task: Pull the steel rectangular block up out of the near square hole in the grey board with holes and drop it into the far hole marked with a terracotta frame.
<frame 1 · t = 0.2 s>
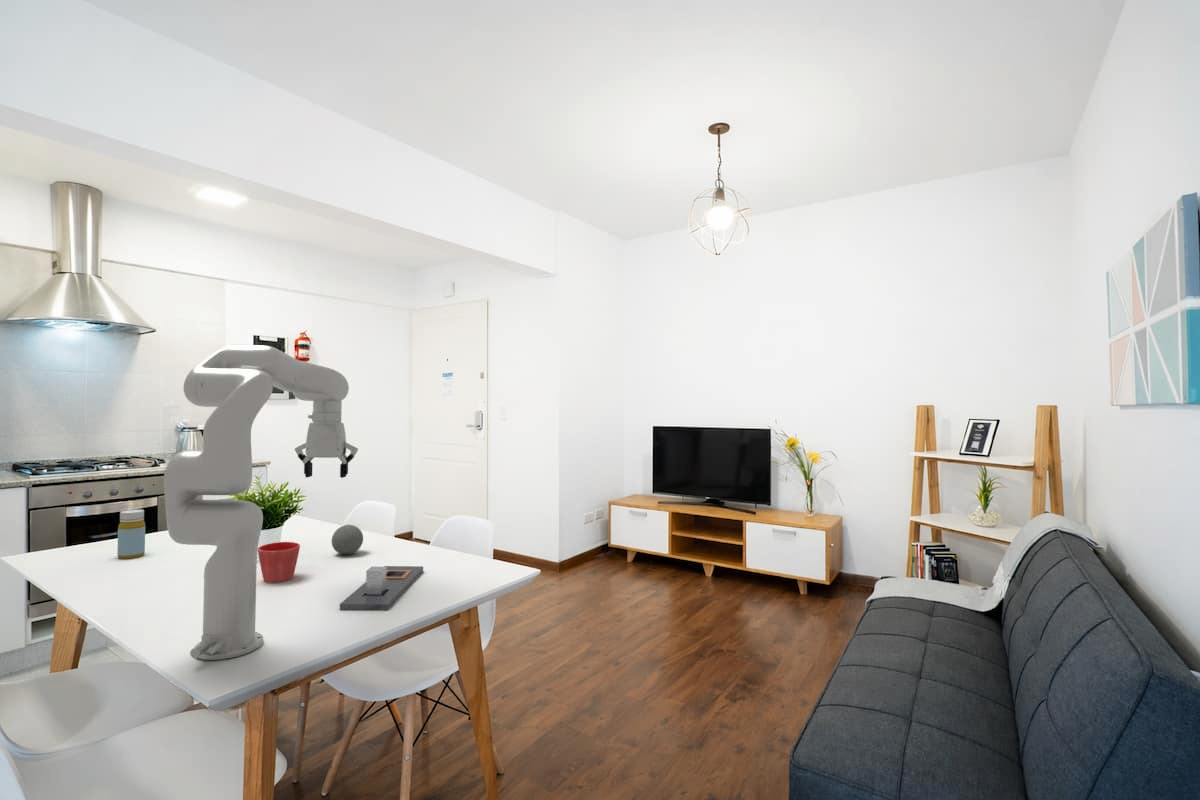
hand: (326, 476, 169), 31 cm above the table, tool pointing down, fingers open, 9 cm apart
decorative ball: (347, 554, 200), on the table
flower pot: (278, 579, 172), on the table
bottle: (131, 557, 192), on the table
grey board with holes: (385, 588, 165), on the table
steel rectangular block: (375, 598, 157), resting in grey board with holes
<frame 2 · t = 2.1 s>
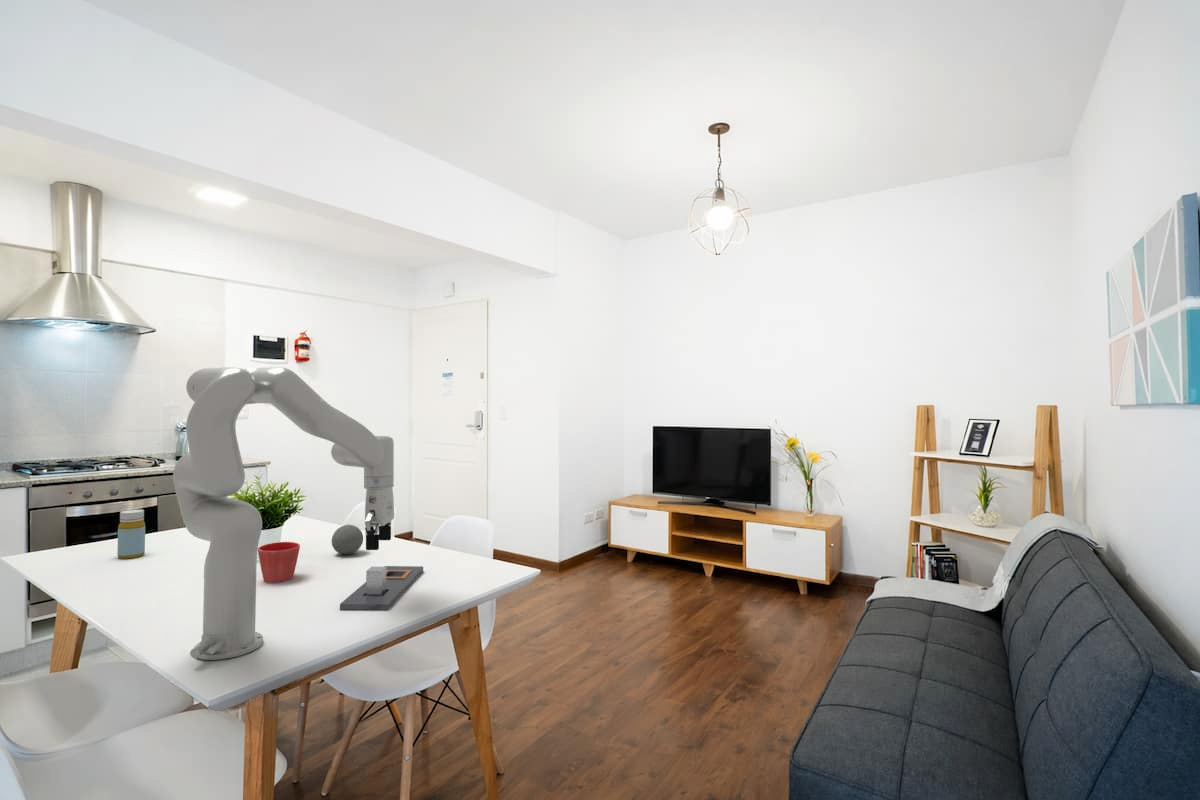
hand: (378, 544, 158), 14 cm above the table, tool pointing down, fingers open, 9 cm apart
nothing on the table moved.
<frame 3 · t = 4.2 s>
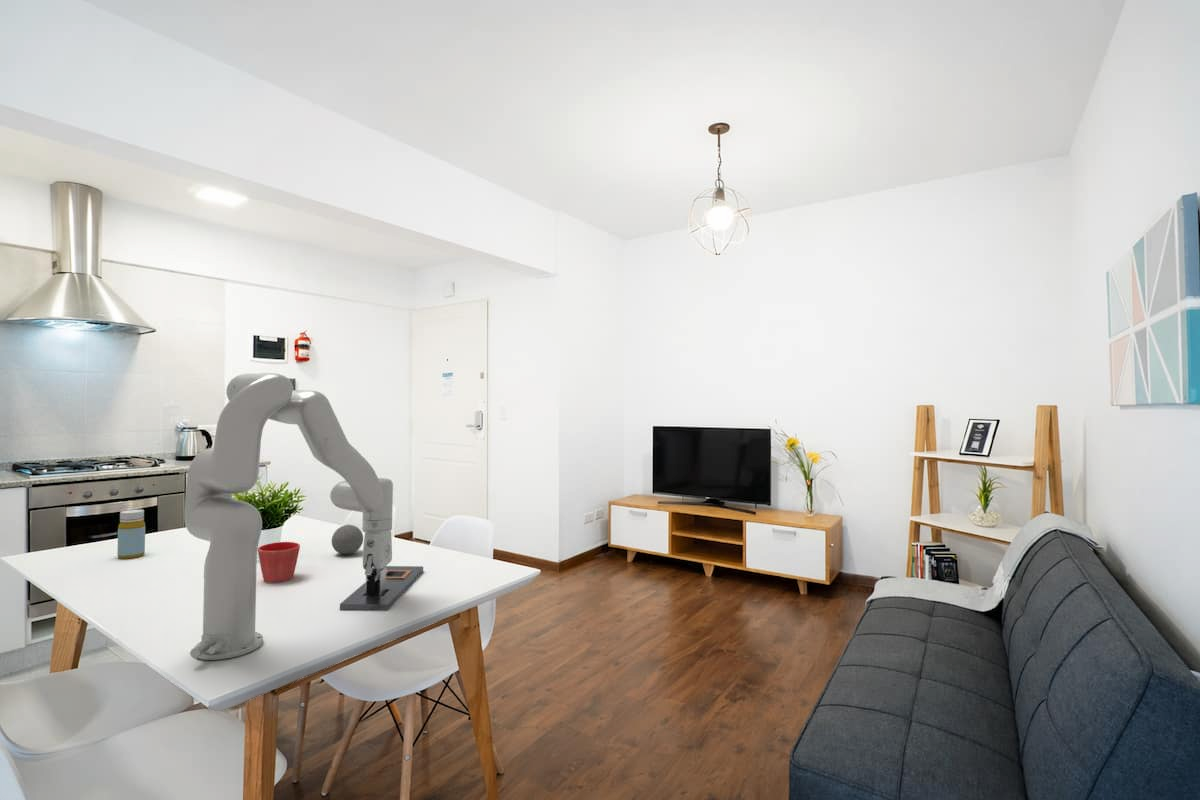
hand: (375, 591, 157), 2 cm above the table, tool pointing down, fingers closed on steel rectangular block, 4 cm apart
steel rectangular block: (375, 598, 157), resting in grey board with holes, touching gripper
everything else where it was.
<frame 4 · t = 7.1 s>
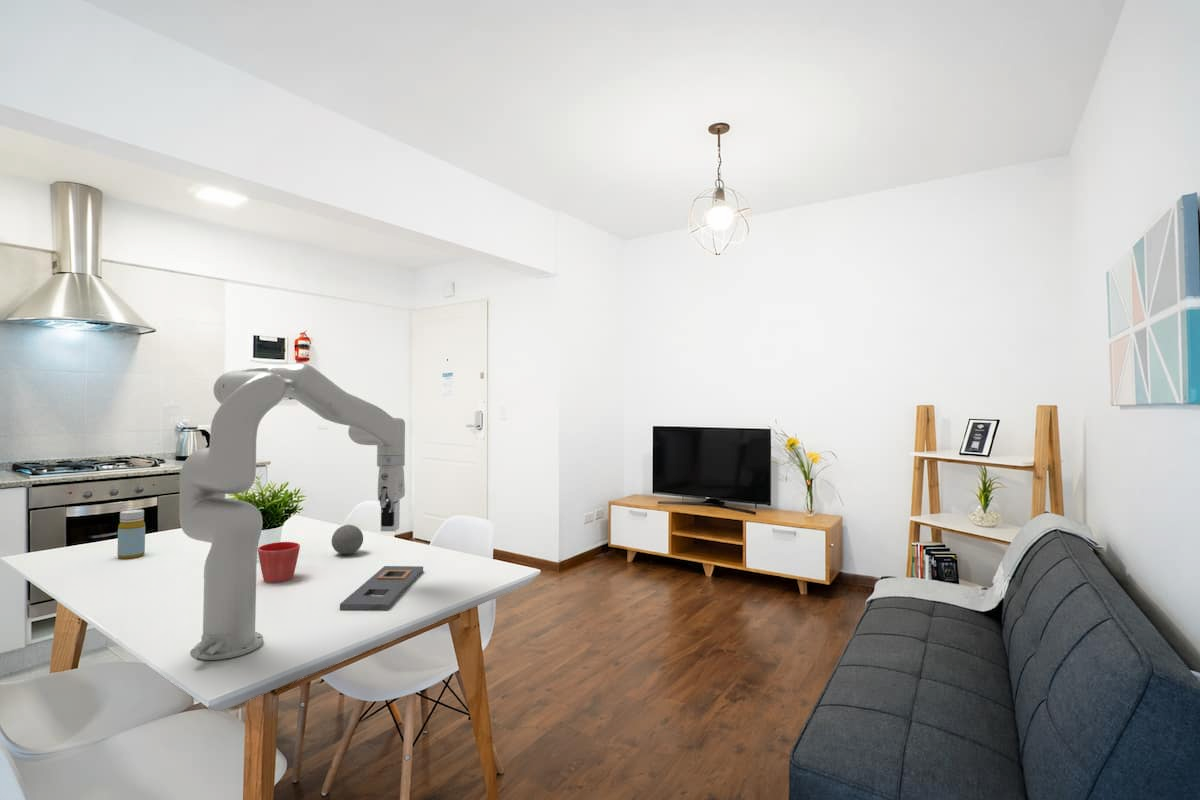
hand: (390, 523, 167), 18 cm above the table, tool pointing down, fingers closed on steel rectangular block, 4 cm apart
steel rectangular block: (390, 529, 167), point 16 cm above the table, touching gripper
everything else where it was.
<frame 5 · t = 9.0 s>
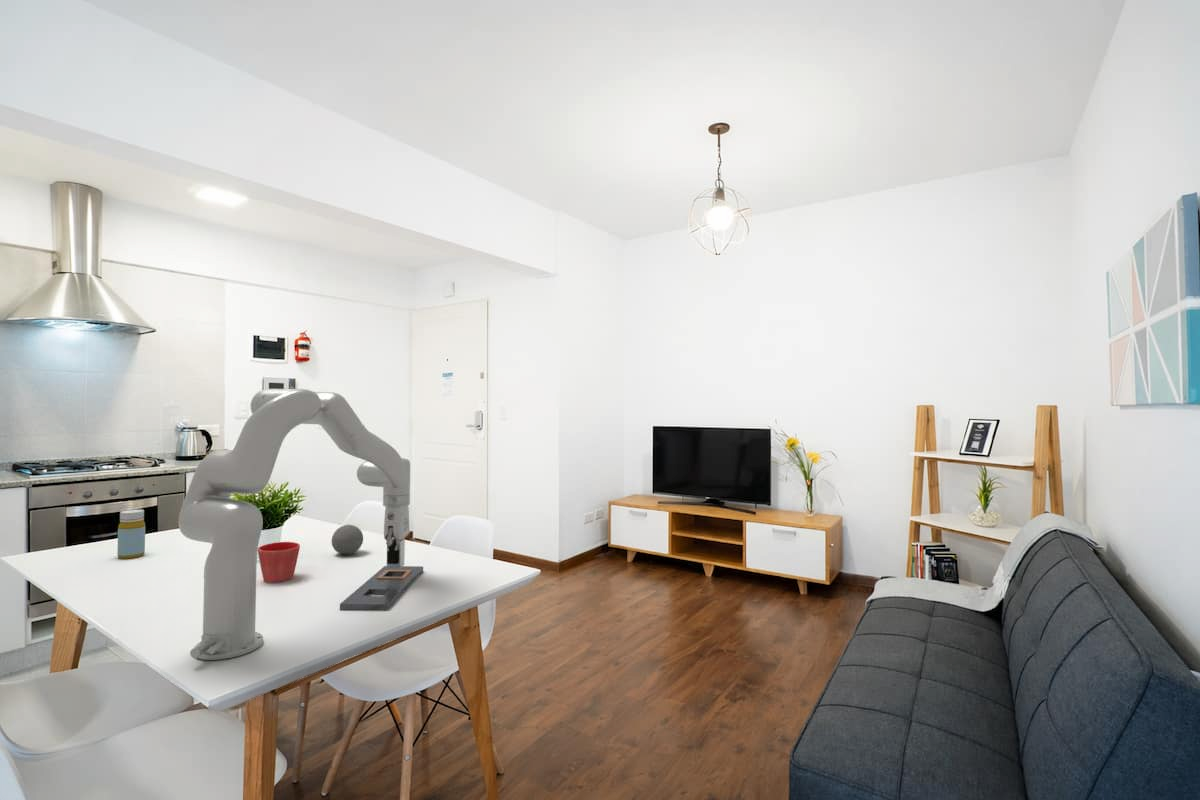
hand: (395, 560, 173), 6 cm above the table, tool pointing down, fingers closed on steel rectangular block, 4 cm apart
steel rectangular block: (395, 566, 173), point 4 cm above the table, touching gripper
everything else where it was.
when the fingers open (3 cm above the table, at t = 10.2 s): steel rectangular block drops 1 cm, resting in grey board with holes.
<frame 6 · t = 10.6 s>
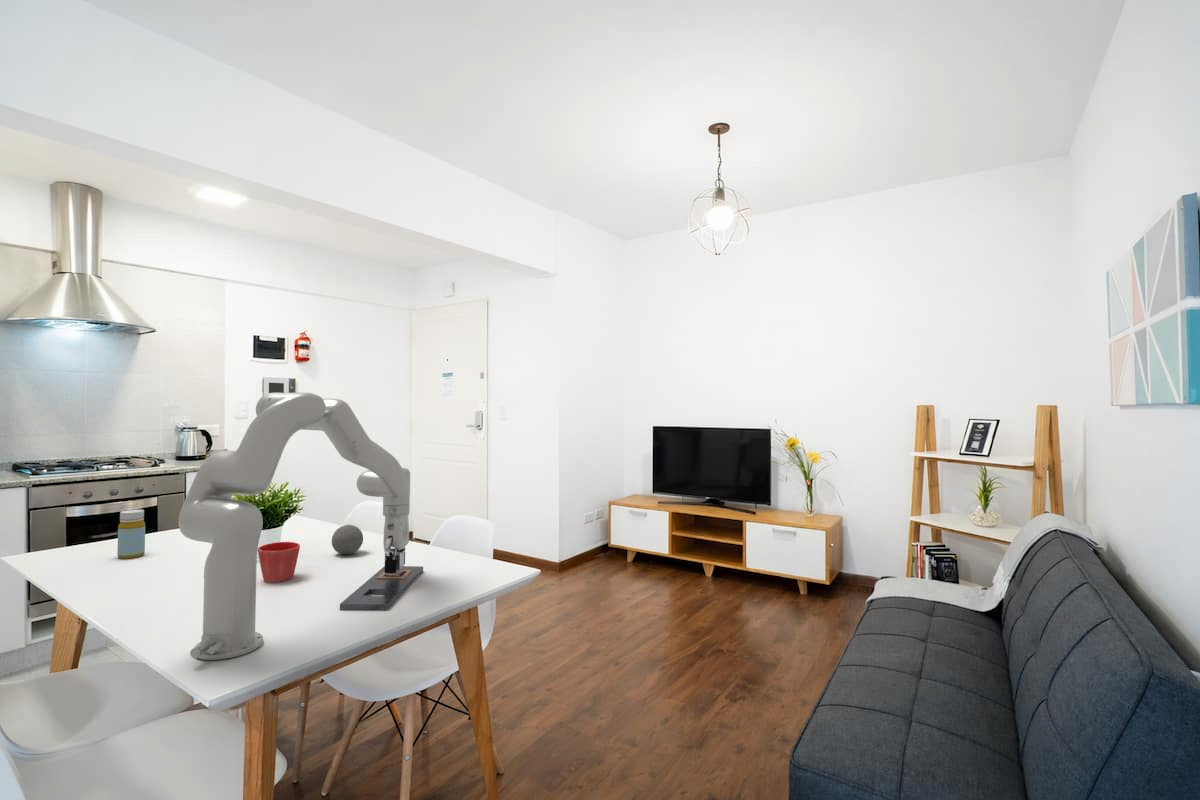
hand: (395, 568, 173), 3 cm above the table, tool pointing down, fingers open, 7 cm apart
steel rectangular block: (394, 580, 173), resting in grey board with holes
everything else where it was.
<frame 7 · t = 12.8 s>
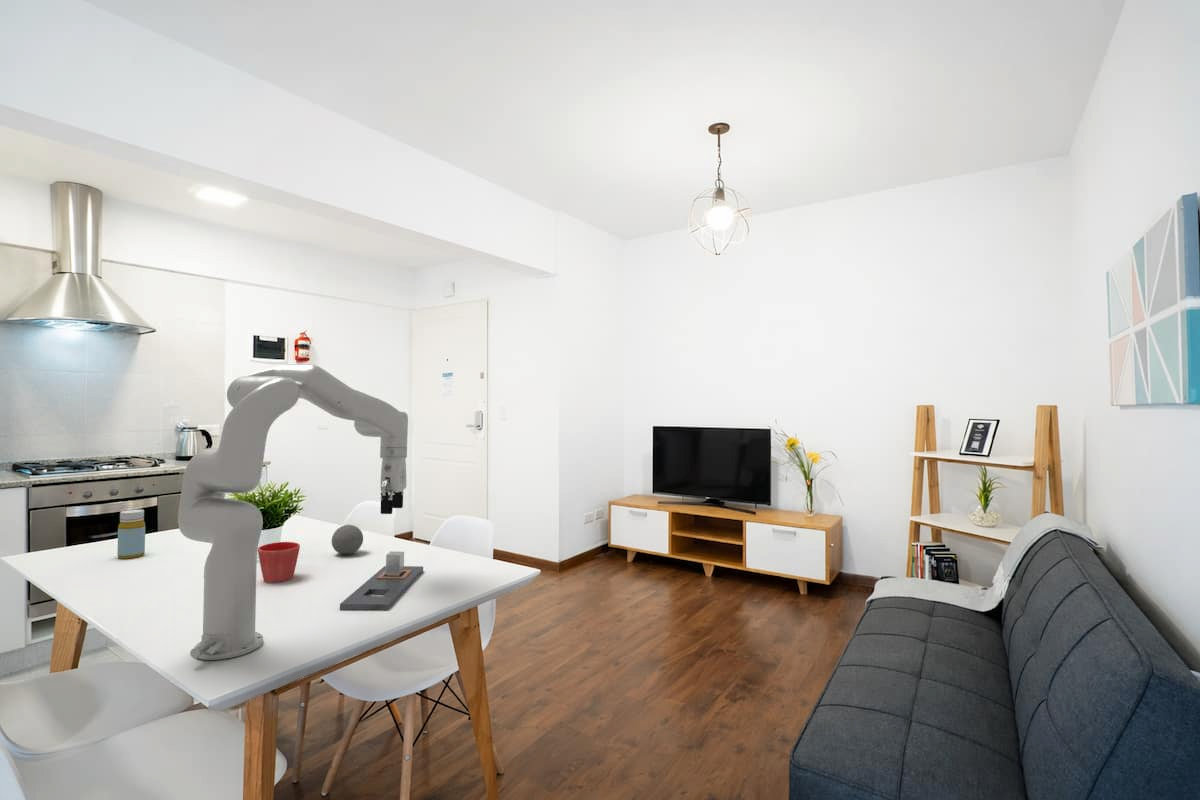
hand: (391, 510, 172), 21 cm above the table, tool pointing down, fingers open, 9 cm apart
nothing on the table moved.
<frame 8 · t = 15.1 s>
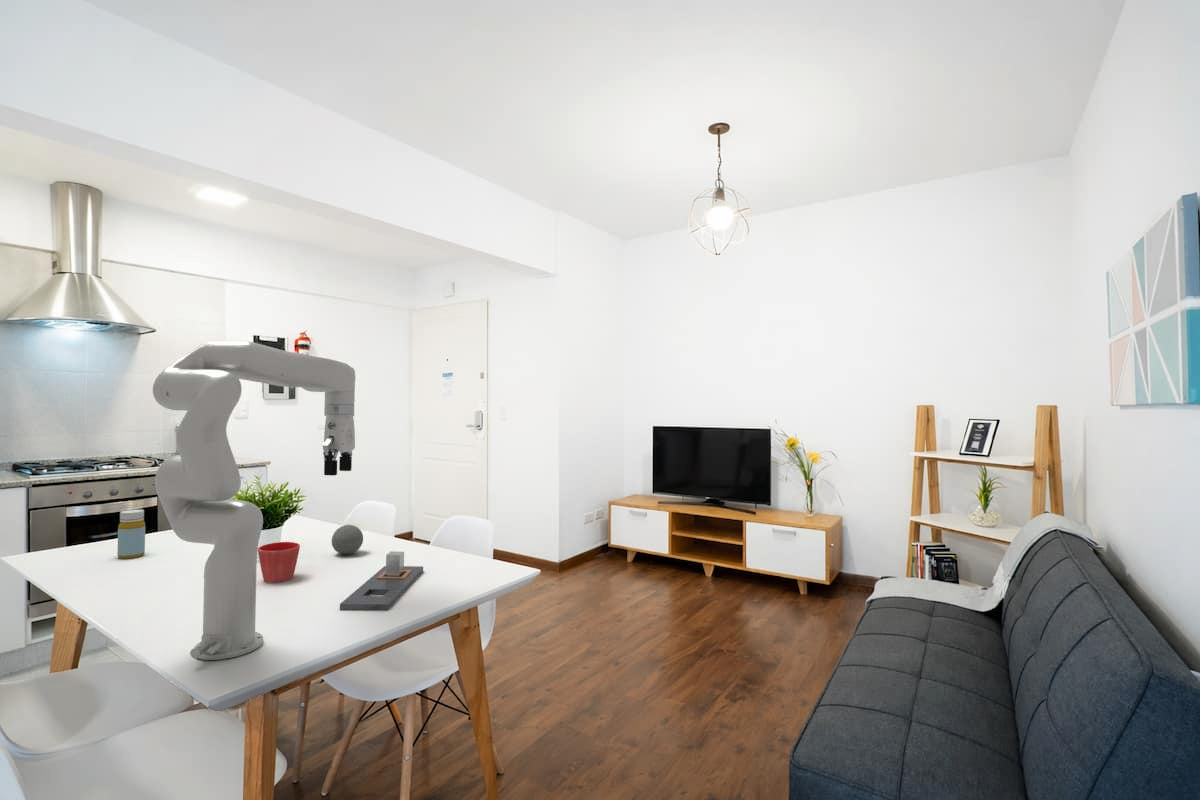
hand: (338, 472, 160), 33 cm above the table, tool pointing down, fingers open, 9 cm apart
nothing on the table moved.
at the end: steel rectangular block 0.1 cm from the target spot on the grey board with holes, point 0.0 cm above the grey board with holes's base; steel rectangular block tilted 0°; the gripper is holding nothing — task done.
